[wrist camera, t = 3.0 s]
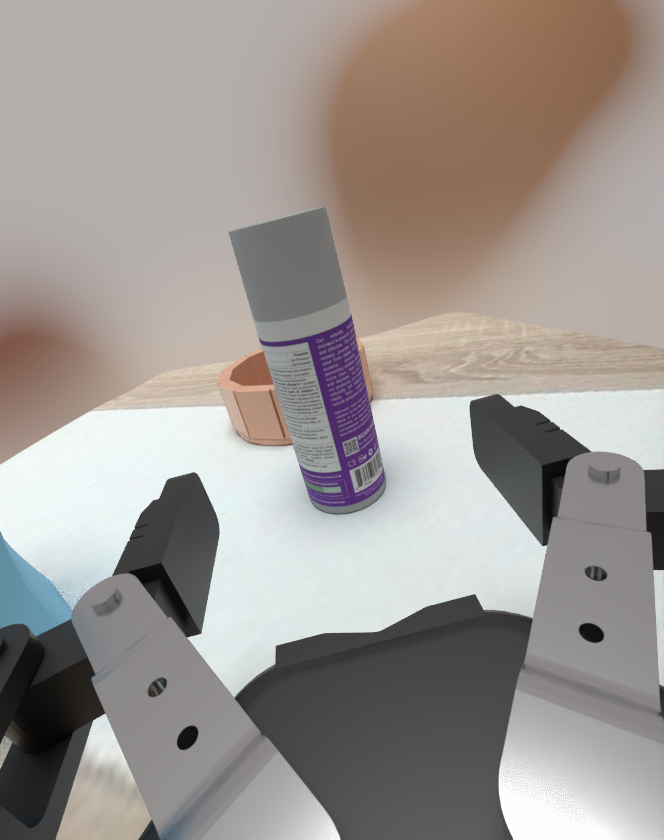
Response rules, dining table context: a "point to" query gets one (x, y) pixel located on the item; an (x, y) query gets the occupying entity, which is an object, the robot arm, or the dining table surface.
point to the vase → (28, 595)
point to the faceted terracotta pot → (261, 399)
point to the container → (312, 356)
